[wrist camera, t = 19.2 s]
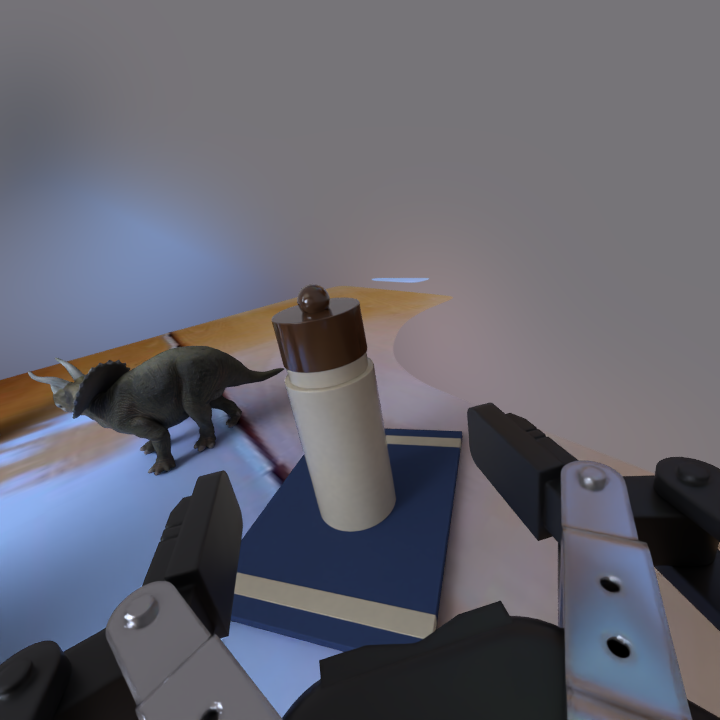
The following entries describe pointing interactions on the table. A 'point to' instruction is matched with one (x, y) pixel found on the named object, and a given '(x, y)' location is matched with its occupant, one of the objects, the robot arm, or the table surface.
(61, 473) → the table surface
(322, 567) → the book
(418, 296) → the table surface
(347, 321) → the pepper mill
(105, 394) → the toy dinosaur
